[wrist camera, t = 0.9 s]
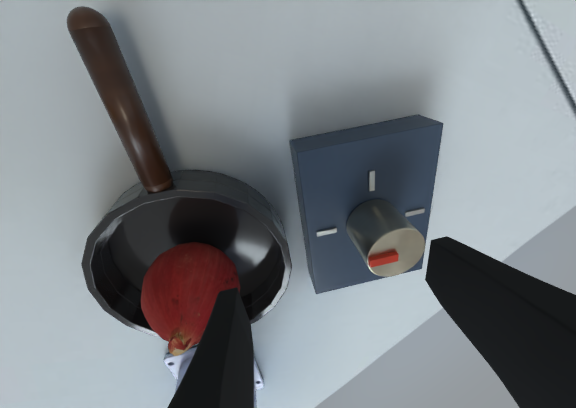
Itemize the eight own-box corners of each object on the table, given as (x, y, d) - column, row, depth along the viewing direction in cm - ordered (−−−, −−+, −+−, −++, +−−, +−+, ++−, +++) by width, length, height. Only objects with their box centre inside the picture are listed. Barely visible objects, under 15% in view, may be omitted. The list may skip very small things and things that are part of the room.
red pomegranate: (247, 227, 20) (253, 320, 13) (229, 283, 22) (226, 387, 15) (163, 211, 18) (119, 309, 11) (153, 274, 21) (112, 386, 14)
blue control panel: (405, 249, 24) (423, 270, 22) (308, 272, 24) (316, 296, 21) (419, 114, 18) (445, 123, 16) (289, 140, 18) (297, 153, 15)
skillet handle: (179, 184, 16) (174, 196, 15) (152, 189, 16) (145, 202, 15) (108, 6, 12) (91, 0, 10) (71, 12, 12) (48, 7, 10)
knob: (397, 193, 18) (432, 225, 15) (394, 236, 20) (425, 273, 16) (345, 205, 18) (369, 240, 14) (346, 247, 19) (369, 286, 16)
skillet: (294, 288, 24) (301, 316, 22) (149, 322, 23) (138, 355, 21) (268, 151, 18) (273, 169, 15) (63, 192, 17) (32, 218, 14)
